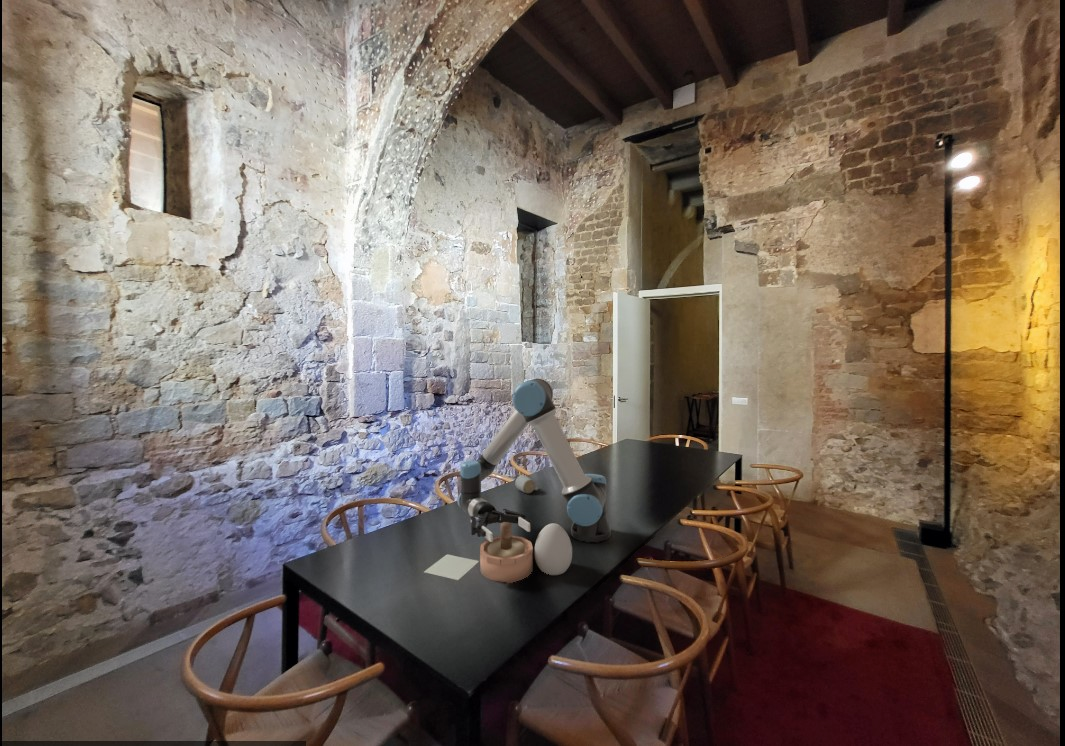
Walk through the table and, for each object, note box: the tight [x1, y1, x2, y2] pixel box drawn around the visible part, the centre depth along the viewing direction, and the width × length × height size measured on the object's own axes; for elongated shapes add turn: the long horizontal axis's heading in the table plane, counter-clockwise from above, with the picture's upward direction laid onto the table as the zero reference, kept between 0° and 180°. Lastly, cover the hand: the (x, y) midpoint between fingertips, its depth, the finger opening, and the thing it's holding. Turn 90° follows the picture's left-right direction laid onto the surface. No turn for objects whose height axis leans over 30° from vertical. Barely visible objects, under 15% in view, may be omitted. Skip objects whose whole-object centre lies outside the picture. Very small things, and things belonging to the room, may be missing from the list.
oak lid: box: [488, 522, 525, 558], centre depth 143 cm, size 12×12×9 cm
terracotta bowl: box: [479, 534, 534, 584], centre depth 144 cm, size 17×17×8 cm
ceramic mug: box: [514, 474, 539, 494], centre depth 221 cm, size 11×8×8 cm
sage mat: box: [423, 554, 480, 581], centre depth 145 cm, size 13×13×1 cm
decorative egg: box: [533, 522, 573, 576], centre depth 143 cm, size 12×12×15 cm
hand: (510, 532), depth 140 cm, fingers open, 13 cm apart
